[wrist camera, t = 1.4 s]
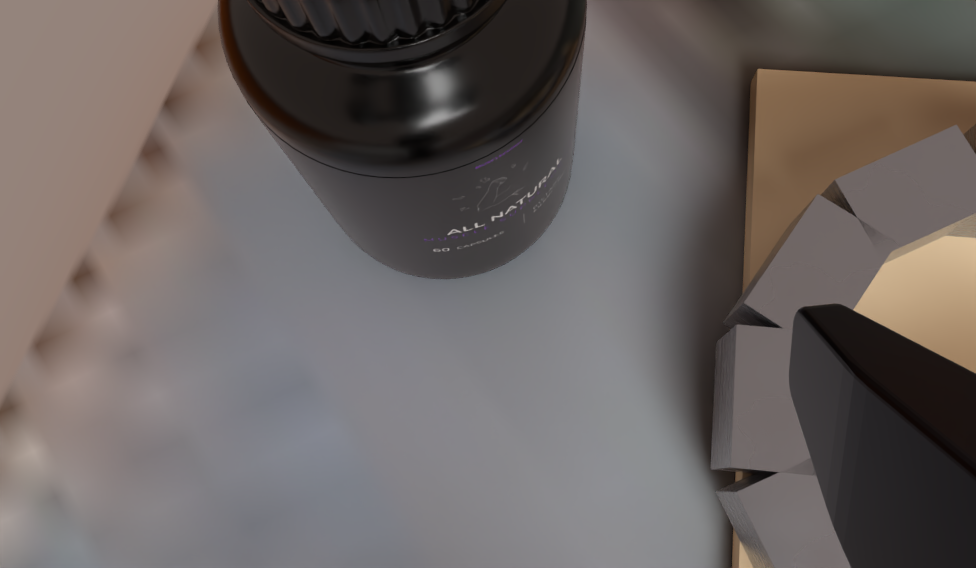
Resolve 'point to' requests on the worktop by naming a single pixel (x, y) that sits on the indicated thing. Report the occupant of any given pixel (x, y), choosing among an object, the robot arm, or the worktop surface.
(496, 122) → the supplement bottle
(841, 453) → the robot arm
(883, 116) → the oak board
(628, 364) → the worktop surface
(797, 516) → the steel ring
